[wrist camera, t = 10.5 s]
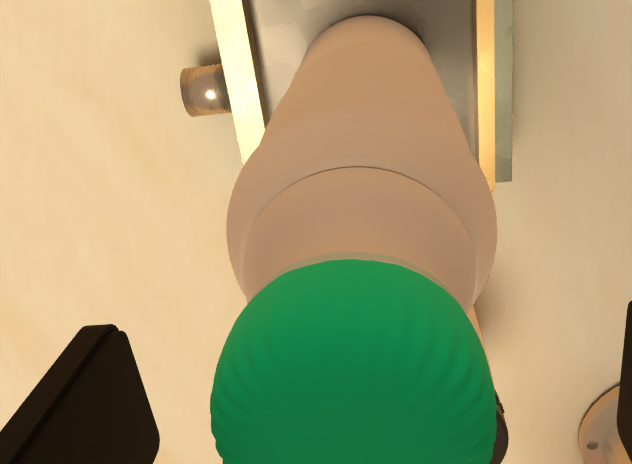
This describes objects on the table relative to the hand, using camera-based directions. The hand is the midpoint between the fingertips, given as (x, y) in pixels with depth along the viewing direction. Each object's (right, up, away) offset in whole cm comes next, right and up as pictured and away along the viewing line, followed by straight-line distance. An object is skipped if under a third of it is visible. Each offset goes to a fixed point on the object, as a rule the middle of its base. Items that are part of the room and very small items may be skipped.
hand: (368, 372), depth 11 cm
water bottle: (+2, +11, +20) cm, 23 cm away
